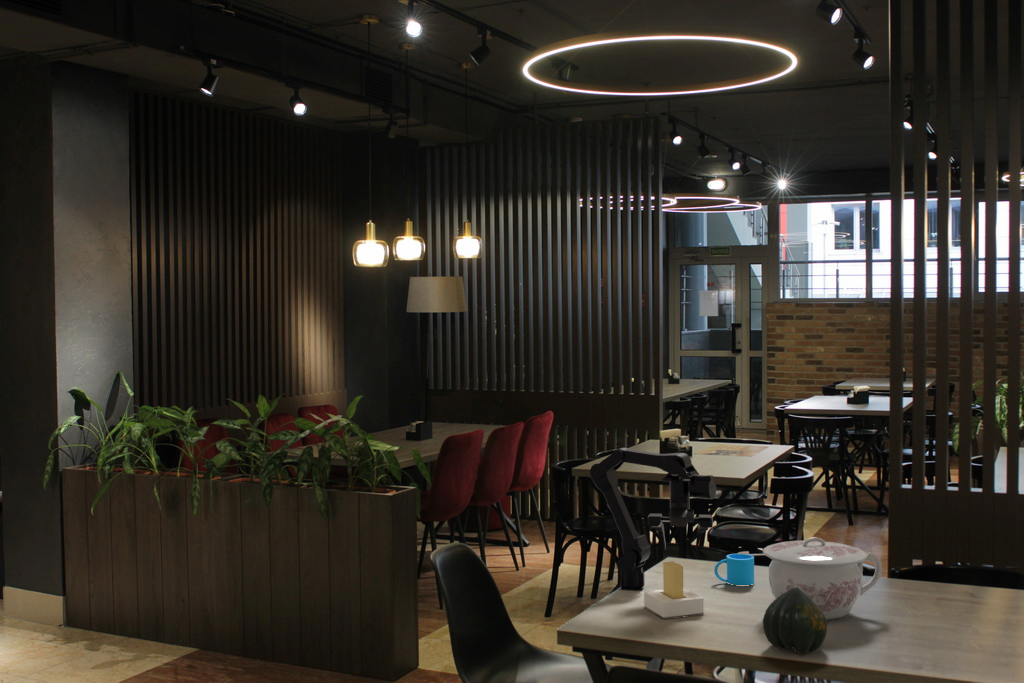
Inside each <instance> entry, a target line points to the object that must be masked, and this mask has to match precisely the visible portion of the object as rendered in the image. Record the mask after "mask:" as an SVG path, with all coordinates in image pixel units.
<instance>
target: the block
mask: <svg viewBox="0 0 1024 683" xmlns="http://www.w3.org/2000/svg"><path fill="white" fill-rule="evenodd" d="M662 567H663V568H662V571H663V572H662V574H663V577H662V579H663V580H662V581H663V582H662V583H663V585H662V586H663V590H664V595H666V596H667V597H669V598H671V599H681V598H684V590H683V588H684V566H683V565H681V564H680V563H677V562H675V561H672V560H671V561H664V562H663V561H662Z"/></svg>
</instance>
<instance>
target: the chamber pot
mask: <svg viewBox="0 0 1024 683" xmlns="http://www.w3.org/2000/svg"><path fill="white" fill-rule="evenodd" d="M762 554H763V555H765V556H766V557H768V558H769V559H771V561H770V564H769V566H768V567H767V568H768V581H769V585H770V589H771V594H772V595H773V597H774V600H775V599H776V598H777V597H779V596H780V595H782V594H783V593H785V592H786V591H788V590H790V589H792V588H796V587H798V588H799V589H801V590H802V591H803V592H804V593H805V594H806V595H807V596H808V597H809V598H810V599H811V600H812V601H813V602H814V603H815V604H816V605H817V606H818V607H819V608H820V609H821V610H822V612H823V613H824V615H825V617H826V621H831V620H836V619H840V618H842V617H846V616H847V615H848V614H849V613H850V612H851V611H852V610H853V608H854V606H855V605H856V603H857V602H858V600H859V599H860V598H861V597H862V595H864V594H865V593H866V592H867V591H869V589H871V588H873V587H874V586H875V585H876V584H877V583H878V581H879V580H880V579H881V577H882V574H883V564H882V562H881V560H880V558H879V557H878V556H877V554H875V553H872V552H869V551H868V552H866V550H865V551H864V550H862V549H861V548H858V547H855V546H852V545H848V544H845V543H840V542H833V541H825V540H824V539H823V538H820V537H815V536H814V537H809V538H807V539H806V540H790V541H781V542H777V543H773V544H770V545H766V547H764V548H763V549H762ZM867 561H871V562H874V567H875V568H874V569H875V571H874V574H873V576H872V577H871V578H870V579H869V580H868V582H866V583H864V582H863V580H864V579H863V578H864V577H863V575H864V574H863V571H864V567H863V566H864V563H865V562H867ZM863 583H864V584H863Z"/></svg>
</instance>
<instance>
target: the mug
mask: <svg viewBox="0 0 1024 683" xmlns="http://www.w3.org/2000/svg"><path fill="white" fill-rule="evenodd" d="M723 563H726V578H723V577H722V576H720V575H719V572H718V569H719V567H720V565H722V564H723ZM714 575H715V576H716V578H717V579H718V580H720V581H721V582H725V583H727V582H728V583H730V584H733V585H751V584H754V585H755V556H753V555H751V554H747V553H731V554H727V555H726V558H724V559H721V560H719V561H718V562H717V563H716V564H715V566H714Z"/></svg>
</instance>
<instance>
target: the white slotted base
mask: <svg viewBox="0 0 1024 683" xmlns="http://www.w3.org/2000/svg"><path fill="white" fill-rule="evenodd" d="M683 590H684V598H681V599H671V598H669V597H667V596H666V595H664V589H657V590H656V589H655V590H647V591H643V594H644V595H643V602H644V603H643V605H644V607H643V608H644V609H646V610H647V609H648V610H647V611H649V612H650V613H652V612H653V613H652V614H654V615H656V616H657V615H658V616H657V617H659V616H660V617H659V618H661V619H662V618H663V620H668V619H667V618H671V619H675V618H674V617H680V618H684V617H683V616H688V617H694V616H693V615H697V616H703V615H702V614H705V613H704V610H705V608H704V607H705V606H704V597H702V596H700V595H698V594H697V593H694V592H692V591H690V590H688V589H686V588H685V587H683Z"/></svg>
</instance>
